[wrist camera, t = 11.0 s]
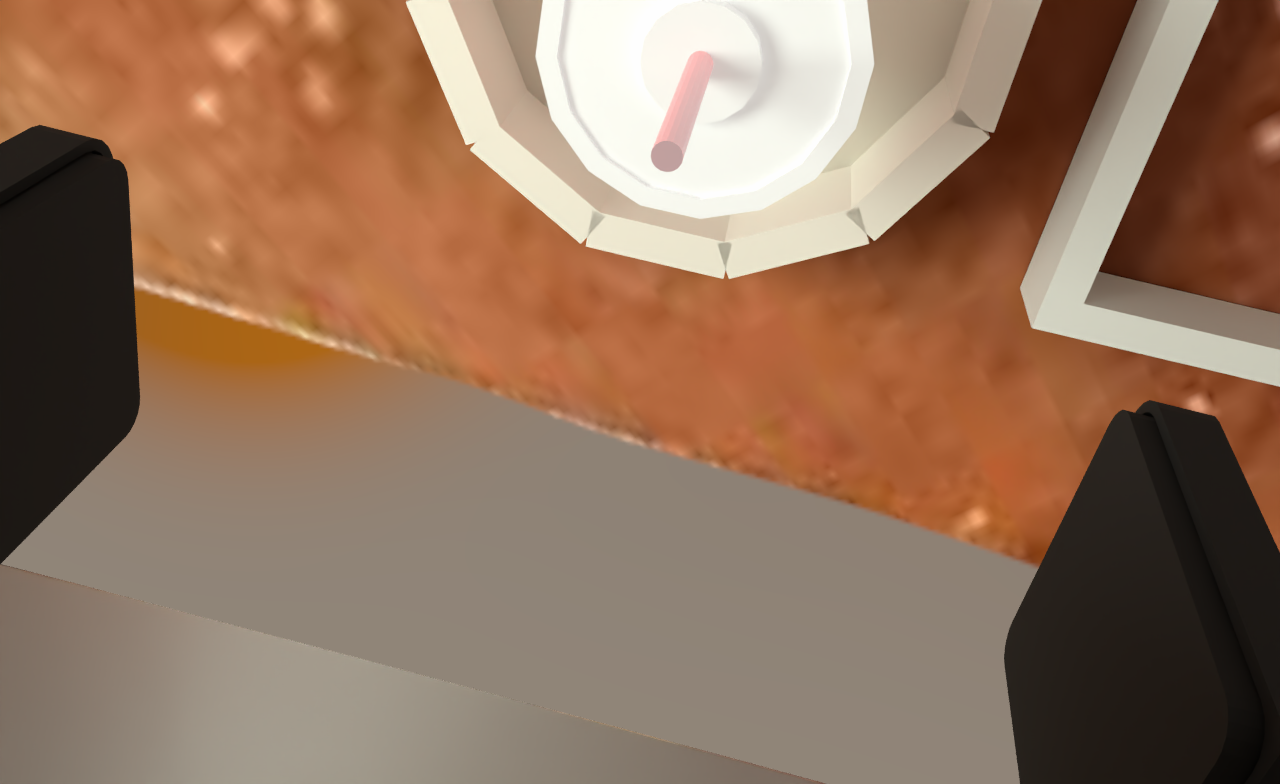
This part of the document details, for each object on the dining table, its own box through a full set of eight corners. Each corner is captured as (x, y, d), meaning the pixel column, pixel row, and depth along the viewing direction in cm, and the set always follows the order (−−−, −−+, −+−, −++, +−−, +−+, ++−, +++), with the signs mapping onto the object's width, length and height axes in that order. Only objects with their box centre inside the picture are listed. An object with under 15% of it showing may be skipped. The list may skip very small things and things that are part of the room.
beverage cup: (898, 31, 29) (938, 274, 17) (671, 117, 31) (567, 388, 19) (816, -226, 27) (797, -147, 15) (574, -115, 28) (384, 34, 17)
